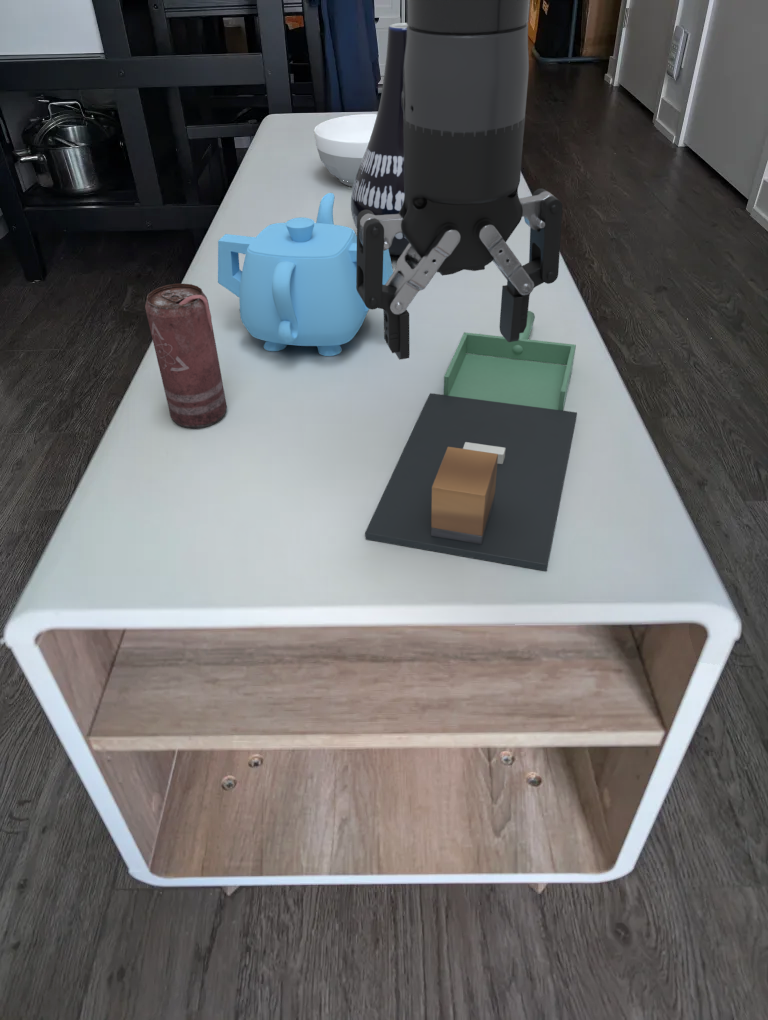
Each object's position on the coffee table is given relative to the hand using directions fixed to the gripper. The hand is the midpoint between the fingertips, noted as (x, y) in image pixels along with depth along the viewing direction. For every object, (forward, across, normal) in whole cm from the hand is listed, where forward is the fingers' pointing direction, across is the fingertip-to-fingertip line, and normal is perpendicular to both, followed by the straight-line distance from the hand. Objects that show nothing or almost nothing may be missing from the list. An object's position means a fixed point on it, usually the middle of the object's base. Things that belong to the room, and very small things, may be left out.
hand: (455, 345), depth 59 cm
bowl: (+19, +18, +97) cm, 101 cm away
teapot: (+19, -4, +42) cm, 46 cm away
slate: (+18, +6, +7) cm, 20 cm away
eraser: (+18, +1, 0) cm, 18 cm away
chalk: (+18, +6, +8) cm, 20 cm away
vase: (+19, +15, +63) cm, 67 cm away
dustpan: (+18, +17, +26) cm, 36 cm away
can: (+19, -20, +26) cm, 38 cm away
